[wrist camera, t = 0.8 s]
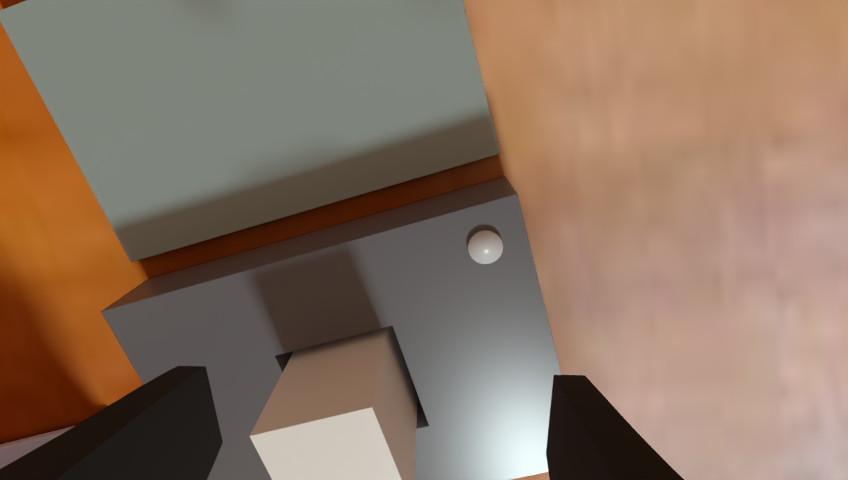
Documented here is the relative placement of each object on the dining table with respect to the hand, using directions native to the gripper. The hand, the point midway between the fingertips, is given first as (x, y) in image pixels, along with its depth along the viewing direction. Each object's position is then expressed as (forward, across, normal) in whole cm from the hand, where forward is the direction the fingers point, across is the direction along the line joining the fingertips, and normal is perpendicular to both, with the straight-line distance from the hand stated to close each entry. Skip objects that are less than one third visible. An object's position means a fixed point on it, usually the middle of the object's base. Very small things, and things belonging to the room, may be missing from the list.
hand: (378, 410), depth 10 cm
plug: (+10, +2, +6) cm, 12 cm away
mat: (+10, +6, -6) cm, 13 cm away
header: (+10, +2, +6) cm, 12 cm away
